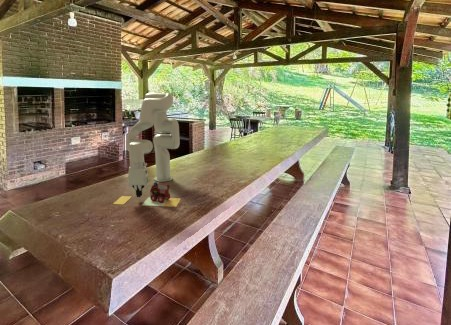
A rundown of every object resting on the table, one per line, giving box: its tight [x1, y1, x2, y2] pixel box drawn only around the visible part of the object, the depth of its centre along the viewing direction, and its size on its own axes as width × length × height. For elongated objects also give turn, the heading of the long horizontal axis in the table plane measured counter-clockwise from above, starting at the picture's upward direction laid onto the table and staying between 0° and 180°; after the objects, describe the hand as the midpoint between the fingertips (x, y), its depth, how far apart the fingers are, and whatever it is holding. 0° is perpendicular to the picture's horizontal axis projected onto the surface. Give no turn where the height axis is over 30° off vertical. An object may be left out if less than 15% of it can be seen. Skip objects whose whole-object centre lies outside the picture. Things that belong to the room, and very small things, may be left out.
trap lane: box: [112, 195, 182, 208], centre depth 163 cm, size 12×35×1 cm, turn 86°
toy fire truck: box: [149, 181, 171, 203], centre depth 163 cm, size 7×12×10 cm, turn 65°
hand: (139, 196), depth 163 cm, fingers closed
